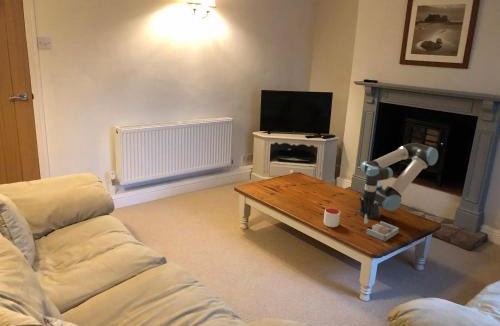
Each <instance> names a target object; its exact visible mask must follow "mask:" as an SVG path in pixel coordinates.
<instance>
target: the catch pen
mask: <svg viewBox="0 0 500 326" xmlns="http://www.w3.org/2000/svg"><path fill="white" fill-rule="evenodd" d="M379 225H381V226H384V227H386V228H389V231H388V233H387V234H386V235H383V234H381V233H378V232H376V231H373V230H372V228H367V229H366V231H365V232H366V235H368V236H371V237H373V238H376V239H378V240H380V241H382V242H387V241H388V240H389V239H391V238H392V237H395V236H396V235H397V234H399V230H400V227H398V226H394V225H392V224H389V223H387V222H384V221H379Z"/></svg>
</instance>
